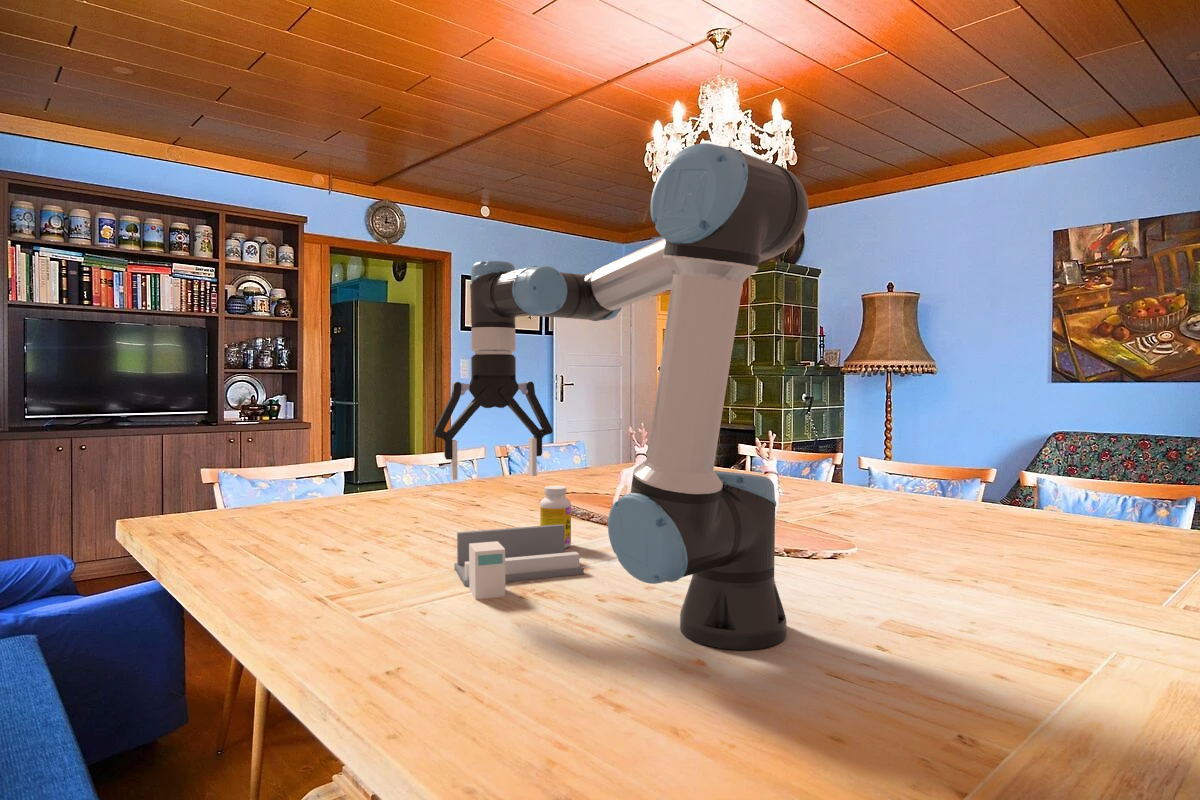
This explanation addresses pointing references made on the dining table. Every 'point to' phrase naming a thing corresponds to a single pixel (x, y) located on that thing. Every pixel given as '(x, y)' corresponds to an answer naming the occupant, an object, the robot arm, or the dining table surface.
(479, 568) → the block
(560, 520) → the supplement bottle
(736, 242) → the robot arm
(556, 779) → the dining table surface
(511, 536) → the rail base
